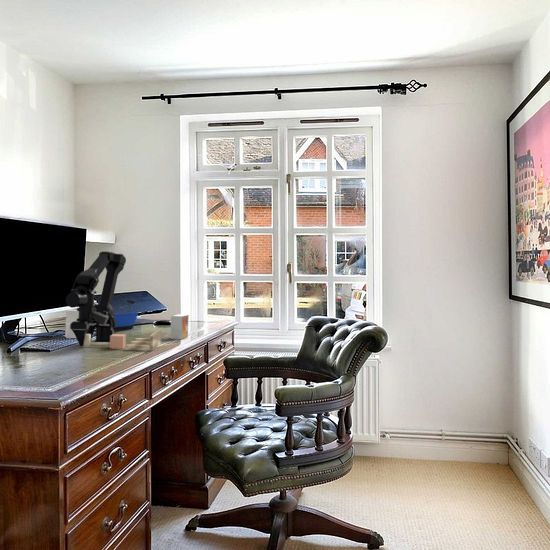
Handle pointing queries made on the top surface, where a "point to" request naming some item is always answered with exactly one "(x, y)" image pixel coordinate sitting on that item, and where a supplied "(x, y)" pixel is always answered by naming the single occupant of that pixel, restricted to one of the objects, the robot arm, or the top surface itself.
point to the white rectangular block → (70, 317)
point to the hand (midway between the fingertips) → (85, 344)
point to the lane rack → (146, 342)
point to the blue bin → (125, 320)
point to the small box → (179, 326)
